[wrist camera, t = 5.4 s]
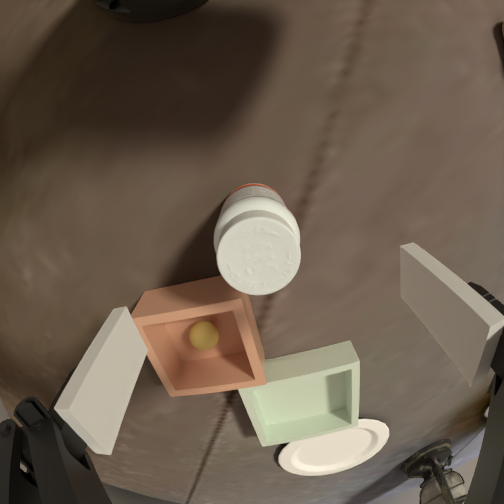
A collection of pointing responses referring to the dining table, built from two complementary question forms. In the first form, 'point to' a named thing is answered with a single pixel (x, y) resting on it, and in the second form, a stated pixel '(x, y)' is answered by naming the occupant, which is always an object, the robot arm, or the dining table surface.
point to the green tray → (306, 395)
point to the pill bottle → (256, 240)
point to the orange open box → (181, 349)
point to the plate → (335, 449)
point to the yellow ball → (203, 335)
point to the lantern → (436, 474)
